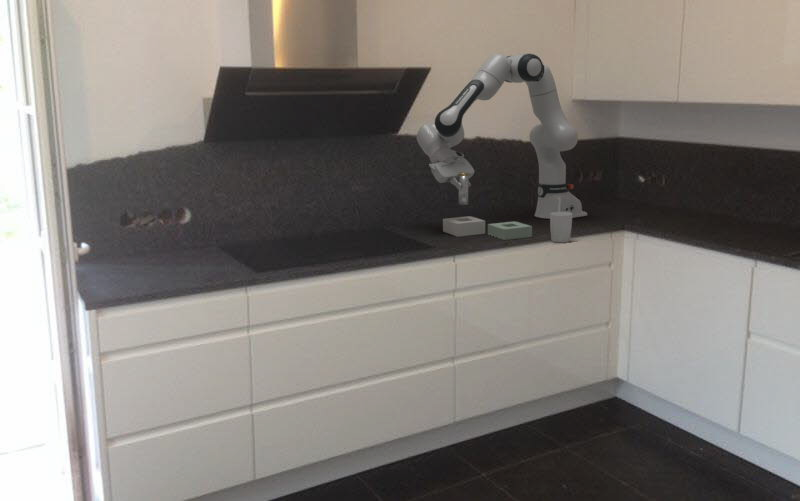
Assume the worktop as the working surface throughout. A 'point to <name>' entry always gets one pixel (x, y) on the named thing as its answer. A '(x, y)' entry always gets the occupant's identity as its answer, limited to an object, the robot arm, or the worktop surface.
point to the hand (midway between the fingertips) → (464, 187)
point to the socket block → (509, 230)
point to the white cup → (560, 226)
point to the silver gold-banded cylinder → (463, 188)
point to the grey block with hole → (464, 226)
